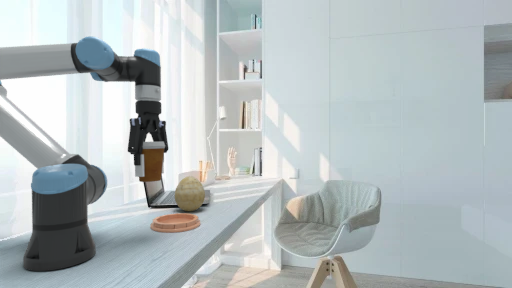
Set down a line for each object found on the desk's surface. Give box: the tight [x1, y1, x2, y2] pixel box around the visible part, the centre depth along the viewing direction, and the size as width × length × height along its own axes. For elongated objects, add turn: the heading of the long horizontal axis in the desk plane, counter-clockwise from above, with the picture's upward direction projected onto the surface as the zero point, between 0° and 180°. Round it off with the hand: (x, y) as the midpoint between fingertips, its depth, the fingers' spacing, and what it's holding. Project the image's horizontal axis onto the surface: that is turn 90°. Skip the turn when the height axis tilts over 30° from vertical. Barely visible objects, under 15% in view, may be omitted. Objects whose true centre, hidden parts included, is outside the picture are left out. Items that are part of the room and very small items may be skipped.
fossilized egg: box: [174, 175, 206, 212], centre depth 127 cm, size 13×13×15 cm
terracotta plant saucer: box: [150, 212, 201, 234], centre depth 105 cm, size 17×17×2 cm
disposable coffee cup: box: [138, 141, 165, 183], centre depth 91 cm, size 10×10×12 cm
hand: (150, 174), depth 91 cm, fingers closed on disposable coffee cup, 8 cm apart
